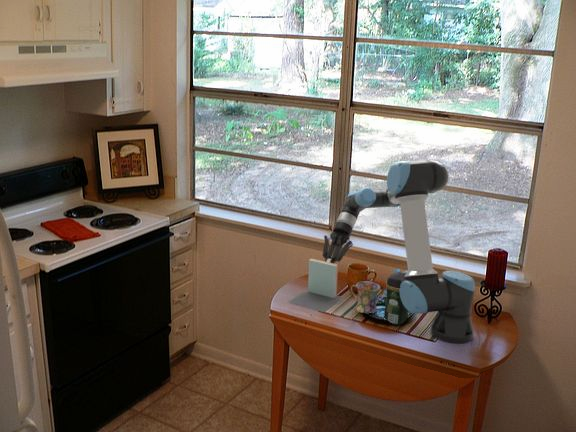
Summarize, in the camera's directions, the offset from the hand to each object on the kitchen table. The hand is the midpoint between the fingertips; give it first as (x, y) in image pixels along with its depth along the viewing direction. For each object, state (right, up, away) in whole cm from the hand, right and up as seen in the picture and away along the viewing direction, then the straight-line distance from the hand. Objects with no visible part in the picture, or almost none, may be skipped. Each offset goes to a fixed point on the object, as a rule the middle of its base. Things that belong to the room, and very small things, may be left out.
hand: (324, 274), depth 266 cm
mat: (-4, -11, -5) cm, 12 cm away
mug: (+14, -13, -11) cm, 22 cm away
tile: (-1, -8, +1) cm, 8 cm away
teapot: (+33, -10, +3) cm, 35 cm away
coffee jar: (+26, -16, -19) cm, 36 cm away
